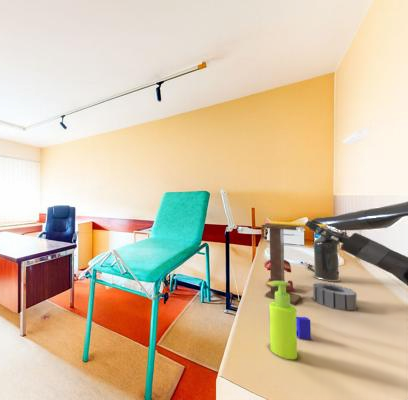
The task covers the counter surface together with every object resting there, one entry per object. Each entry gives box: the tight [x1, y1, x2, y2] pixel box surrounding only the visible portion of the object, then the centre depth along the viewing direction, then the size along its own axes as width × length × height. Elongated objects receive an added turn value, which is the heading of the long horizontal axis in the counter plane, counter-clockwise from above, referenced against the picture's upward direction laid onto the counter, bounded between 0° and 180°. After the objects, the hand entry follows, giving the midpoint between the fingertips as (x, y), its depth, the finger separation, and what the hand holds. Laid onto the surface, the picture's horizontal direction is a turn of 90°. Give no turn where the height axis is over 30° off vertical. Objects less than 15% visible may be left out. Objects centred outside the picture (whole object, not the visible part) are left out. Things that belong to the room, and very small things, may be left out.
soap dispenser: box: [266, 280, 298, 360], centre depth 61 cm, size 6×7×20 cm
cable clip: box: [296, 316, 312, 340], centre depth 72 cm, size 12×4×6 cm, turn 168°
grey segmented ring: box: [312, 282, 357, 311], centre depth 88 cm, size 12×12×6 cm
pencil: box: [264, 220, 327, 228], centre depth 91 cm, size 20×1×1 cm, turn 36°
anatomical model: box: [263, 259, 294, 293], centre depth 104 cm, size 10×8×15 cm
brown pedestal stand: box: [261, 223, 304, 306], centre depth 94 cm, size 12×10×32 cm
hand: (309, 222), depth 87 cm, fingers open, 6 cm apart
